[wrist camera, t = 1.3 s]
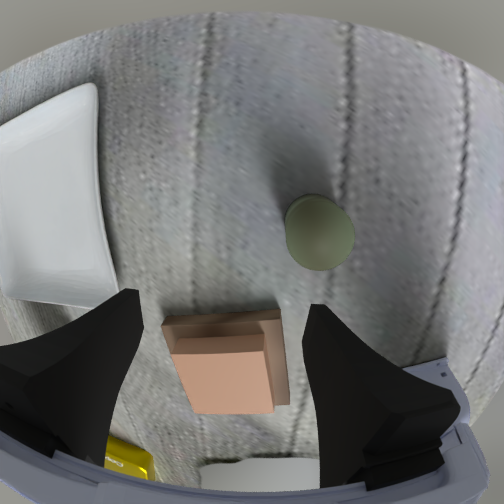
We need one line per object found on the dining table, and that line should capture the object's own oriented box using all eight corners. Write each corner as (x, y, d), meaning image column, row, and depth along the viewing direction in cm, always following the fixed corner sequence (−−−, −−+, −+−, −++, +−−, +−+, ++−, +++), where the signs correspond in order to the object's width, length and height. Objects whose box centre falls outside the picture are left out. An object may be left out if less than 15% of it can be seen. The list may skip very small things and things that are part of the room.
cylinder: (337, 191, 22) (352, 199, 17) (341, 245, 23) (356, 266, 18) (281, 197, 22) (281, 206, 17) (288, 251, 23) (289, 274, 19)
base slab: (280, 305, 26) (280, 319, 23) (289, 388, 29) (289, 404, 27) (169, 312, 27) (160, 325, 25) (196, 390, 30) (190, 405, 28)
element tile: (153, 451, 37) (144, 471, 32) (156, 480, 42) (150, 496, 37) (79, 418, 37) (67, 435, 33) (93, 453, 42) (85, 468, 37)
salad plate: (115, 83, 20) (94, 75, 17) (137, 298, 27) (122, 315, 24) (-4, 137, 23) (-22, 138, 19) (18, 288, 29) (3, 298, 26)
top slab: (264, 333, 24) (263, 351, 22) (274, 395, 26) (274, 412, 24) (179, 338, 25) (170, 354, 23) (200, 396, 27) (195, 413, 25)
